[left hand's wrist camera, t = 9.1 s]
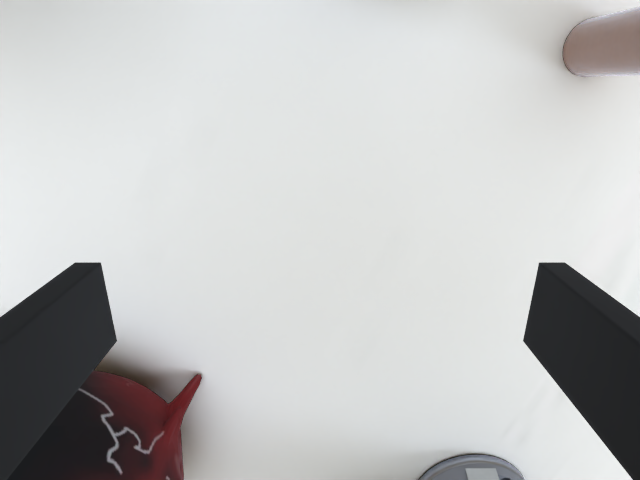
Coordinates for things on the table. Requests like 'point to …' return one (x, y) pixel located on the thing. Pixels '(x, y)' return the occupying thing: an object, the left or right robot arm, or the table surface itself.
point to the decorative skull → (111, 434)
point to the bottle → (605, 45)
